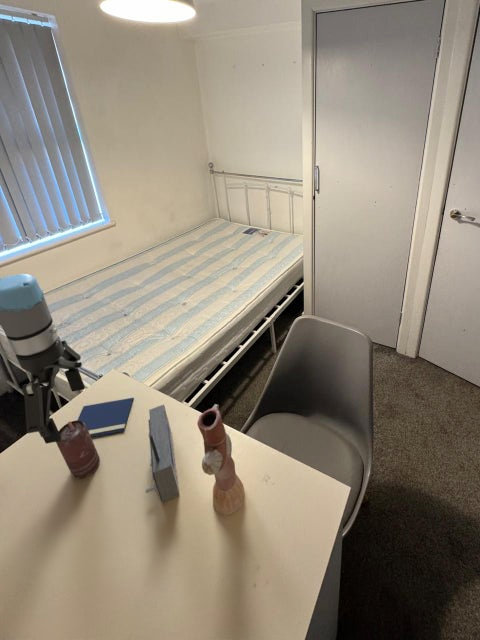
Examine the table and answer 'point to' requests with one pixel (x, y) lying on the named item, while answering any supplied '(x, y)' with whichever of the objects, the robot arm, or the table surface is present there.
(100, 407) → the book
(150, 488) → the electronic device
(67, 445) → the can
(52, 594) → the table surface
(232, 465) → the vase
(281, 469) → the table surface
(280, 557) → the table surface
